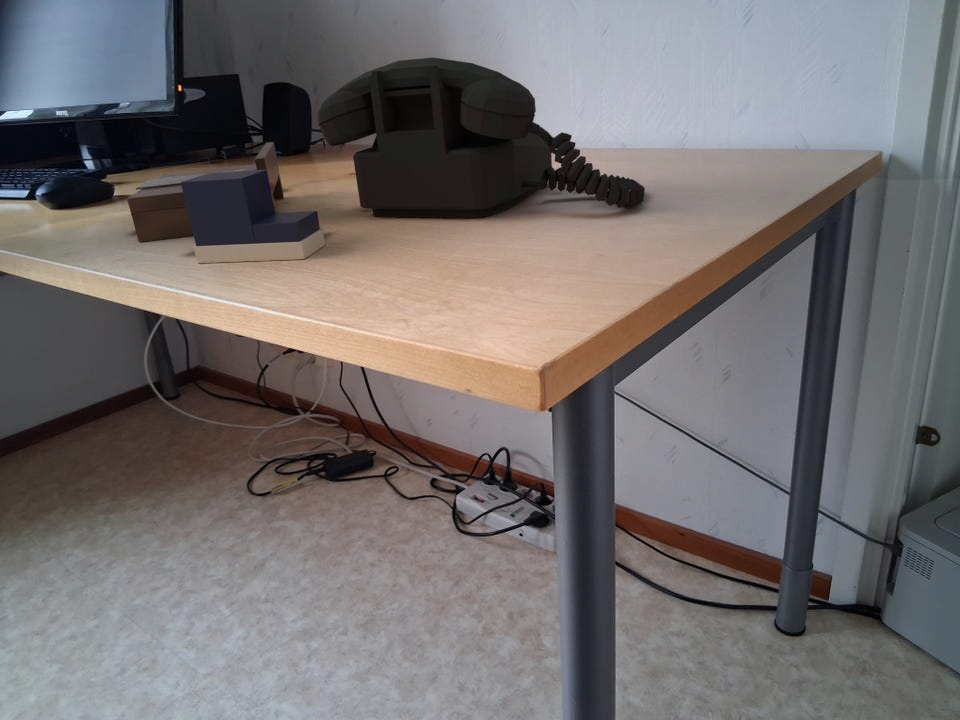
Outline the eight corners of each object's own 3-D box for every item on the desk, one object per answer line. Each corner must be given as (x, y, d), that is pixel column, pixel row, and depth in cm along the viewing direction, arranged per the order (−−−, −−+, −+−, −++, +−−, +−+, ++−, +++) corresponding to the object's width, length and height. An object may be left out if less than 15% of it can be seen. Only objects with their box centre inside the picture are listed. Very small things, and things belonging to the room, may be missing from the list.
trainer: (197, 263, 61) (177, 182, 58) (225, 249, 65) (207, 173, 62) (304, 259, 59) (288, 175, 56) (325, 244, 63) (312, 166, 61)
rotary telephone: (672, 181, 79) (676, 37, 73) (626, 225, 61) (626, 38, 55) (417, 183, 93) (404, 62, 87) (319, 219, 75) (294, 69, 69)
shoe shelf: (133, 243, 71) (114, 173, 69) (169, 210, 89) (155, 153, 87) (277, 225, 74) (264, 157, 71) (284, 196, 92) (273, 141, 89)
